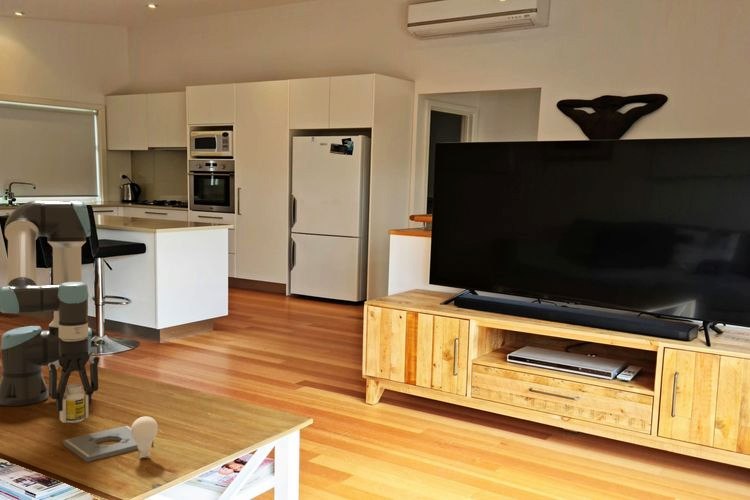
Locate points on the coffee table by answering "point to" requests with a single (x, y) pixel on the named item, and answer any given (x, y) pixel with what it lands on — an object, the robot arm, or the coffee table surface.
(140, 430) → the light bulb
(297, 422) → the coffee table surface
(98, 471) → the coffee table surface
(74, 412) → the supplement bottle
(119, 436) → the socket board
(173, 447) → the coffee table surface
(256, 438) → the coffee table surface
